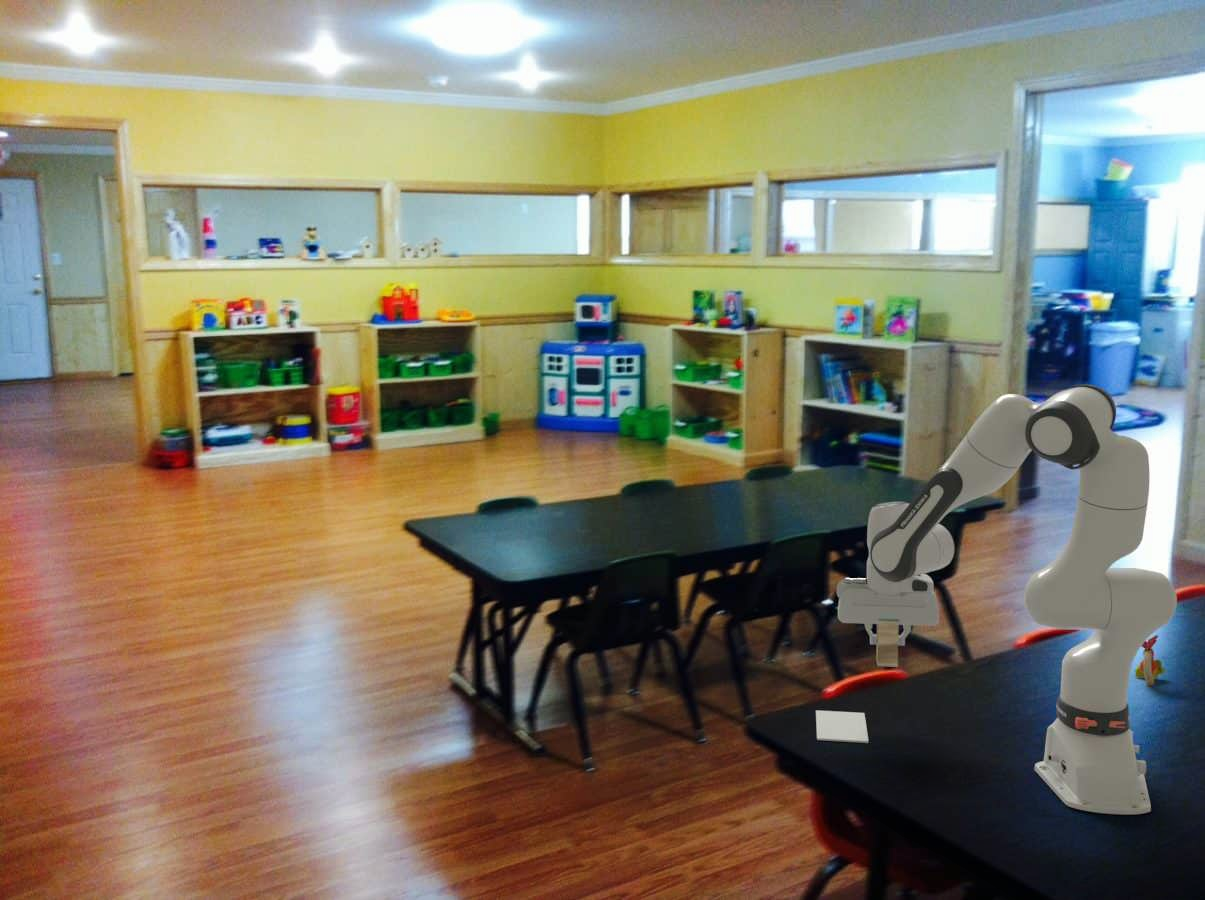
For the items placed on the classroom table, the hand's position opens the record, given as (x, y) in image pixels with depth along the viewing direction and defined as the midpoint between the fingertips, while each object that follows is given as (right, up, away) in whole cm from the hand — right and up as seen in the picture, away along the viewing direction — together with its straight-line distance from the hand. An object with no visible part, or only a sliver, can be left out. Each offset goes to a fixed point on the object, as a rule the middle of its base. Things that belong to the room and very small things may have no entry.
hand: (887, 644), depth 226 cm
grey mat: (-10, -17, -2) cm, 19 cm away
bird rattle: (+64, -12, +19) cm, 68 cm away
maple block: (0, -4, +1) cm, 4 cm away
